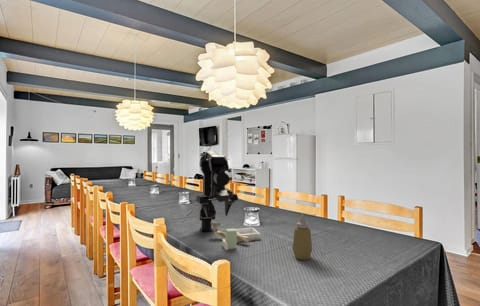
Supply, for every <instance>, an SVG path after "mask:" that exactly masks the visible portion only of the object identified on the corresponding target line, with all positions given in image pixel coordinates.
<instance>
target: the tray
mask: <svg viewBox="0 0 480 306" xmlns="http://www.w3.org/2000/svg"><path fill="white" fill-rule="evenodd" d="M234 229H235V230H236V231H237V235H241V236H246V237H249V241H248V242H250V241H261V238H262V235H261V234H262V233H260V232H259V231H258V230H256V229H255V228H254V227H245V228H243V227H242V228H234ZM241 242H243V241H239V243H241Z"/></svg>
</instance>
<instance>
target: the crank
mask: <svg viewBox="0 0 480 306" xmlns="http://www.w3.org/2000/svg"><path fill="white" fill-rule="evenodd" d="M211 225H212V229H213V231H212V232H214V235H213V236H216V237H221V238H224V239H225V238H226V231H221V230H219V227H220V226H221V223H220V222H217V221H213V220H212V221H211ZM237 240H239V242H240V241H242V242H244V243H248V242H250V241H249V237H246V236H241V235H237Z"/></svg>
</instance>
